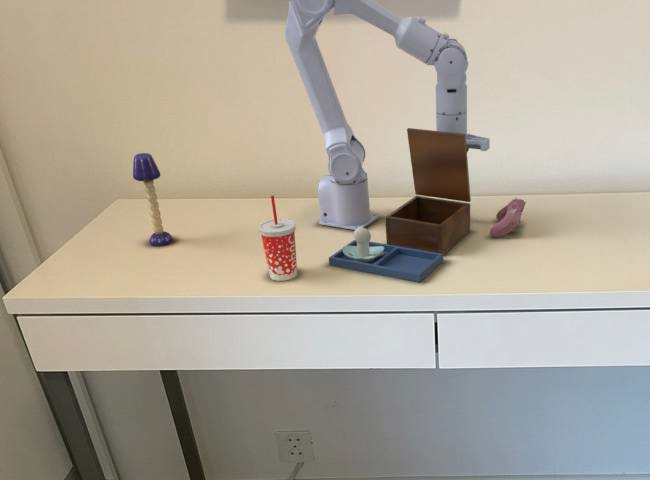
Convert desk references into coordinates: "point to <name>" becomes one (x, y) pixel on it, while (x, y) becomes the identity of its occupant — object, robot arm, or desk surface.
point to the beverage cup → (279, 246)
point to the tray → (392, 262)
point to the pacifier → (363, 247)
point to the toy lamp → (151, 195)
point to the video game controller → (508, 218)
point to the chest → (428, 224)
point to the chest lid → (439, 164)
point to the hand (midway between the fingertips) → (452, 183)
